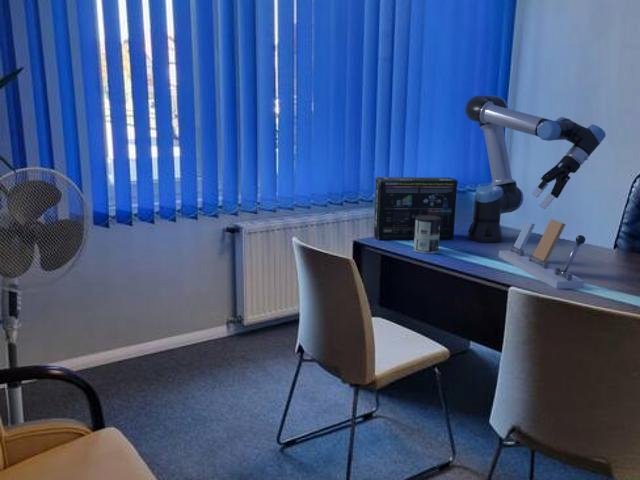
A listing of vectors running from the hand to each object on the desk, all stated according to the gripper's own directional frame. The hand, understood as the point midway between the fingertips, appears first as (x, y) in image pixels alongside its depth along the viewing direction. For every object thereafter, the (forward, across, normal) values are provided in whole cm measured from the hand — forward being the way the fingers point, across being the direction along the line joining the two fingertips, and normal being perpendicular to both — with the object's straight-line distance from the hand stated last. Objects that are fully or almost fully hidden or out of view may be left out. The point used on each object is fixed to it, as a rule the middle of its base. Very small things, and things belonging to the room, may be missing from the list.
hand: (538, 201), depth 225 cm
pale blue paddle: (+21, -6, -9) cm, 24 cm away
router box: (+43, -1, +34) cm, 55 cm away
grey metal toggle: (+20, -24, -33) cm, 46 cm away
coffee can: (+44, -15, +17) cm, 49 cm away
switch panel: (+24, -13, -22) cm, 35 cm away
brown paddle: (+21, -15, -21) cm, 33 cm away
